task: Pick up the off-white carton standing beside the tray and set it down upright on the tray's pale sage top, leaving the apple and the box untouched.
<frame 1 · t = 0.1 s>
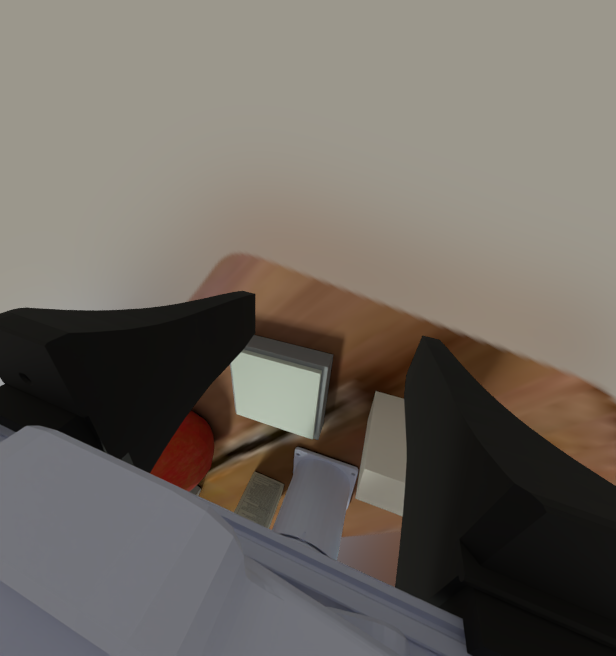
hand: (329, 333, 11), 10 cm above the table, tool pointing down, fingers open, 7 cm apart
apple: (195, 424, 38), on the table
box: (269, 482, 40), on the table
tray: (282, 380, 28), on the table
carton: (397, 413, 25), on the table
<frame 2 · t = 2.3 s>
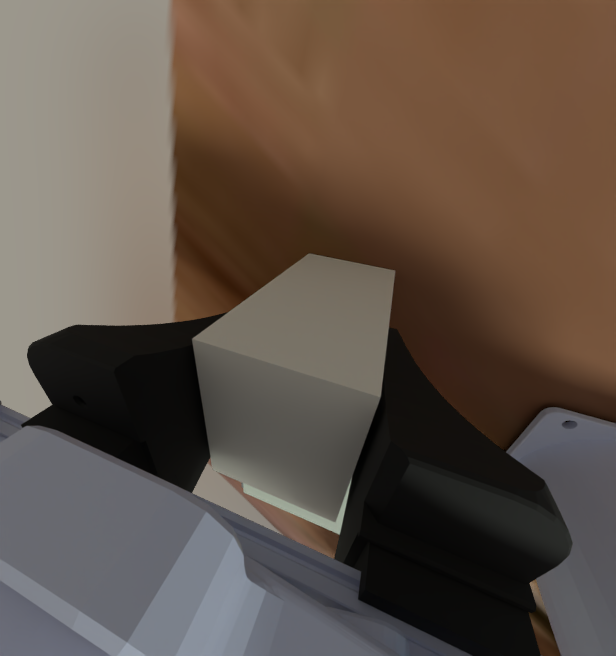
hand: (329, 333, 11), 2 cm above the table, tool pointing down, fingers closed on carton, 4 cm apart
tray: (313, 451, 19), on the table
carton: (341, 310, 13), on the table, touching gripper
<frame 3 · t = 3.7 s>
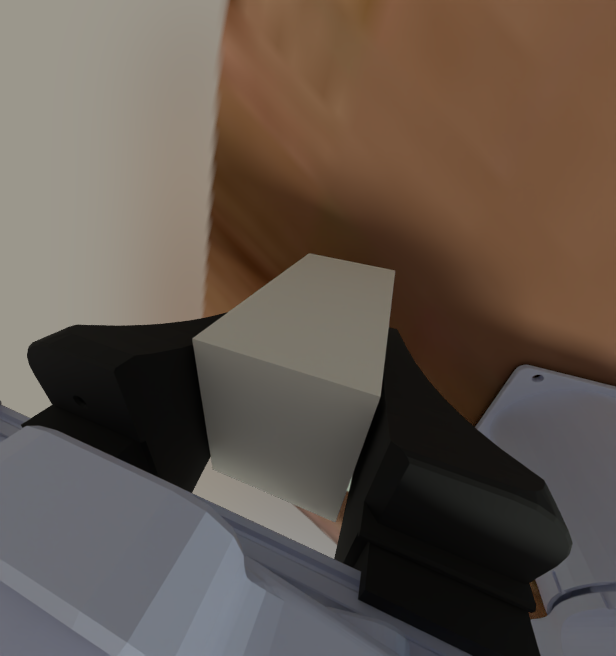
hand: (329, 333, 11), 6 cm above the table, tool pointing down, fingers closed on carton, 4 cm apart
carton: (341, 310, 13), point 3 cm above the table, touching gripper
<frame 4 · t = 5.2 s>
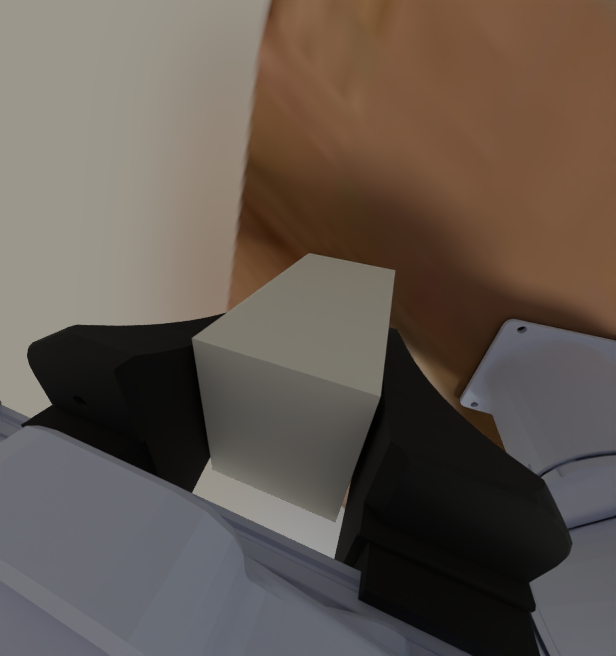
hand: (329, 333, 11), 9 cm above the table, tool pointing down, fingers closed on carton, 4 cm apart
carton: (340, 309, 13), point 7 cm above the table, touching gripper
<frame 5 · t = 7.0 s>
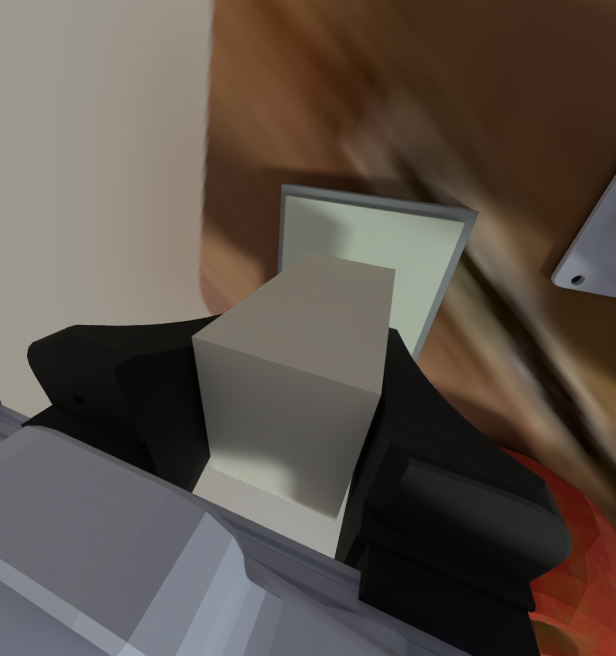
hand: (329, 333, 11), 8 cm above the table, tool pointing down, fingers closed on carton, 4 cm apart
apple: (486, 467, 22), on the table
tray: (357, 277, 17), on the table
carton: (341, 309, 13), point 5 cm above the table, touching gripper
when the fingers open (6 cm above the table, at t = 8.3 s): carton stays where it is, resting on tray.
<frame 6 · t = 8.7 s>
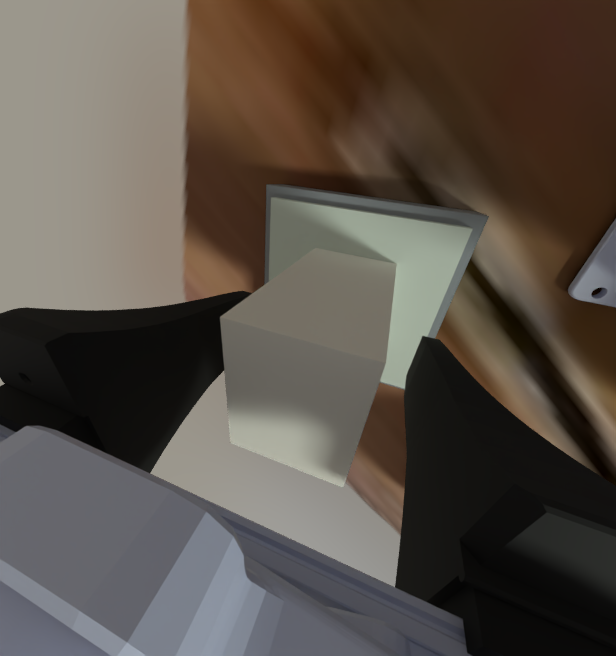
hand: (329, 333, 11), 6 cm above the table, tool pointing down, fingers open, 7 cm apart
tray: (352, 287, 16), on the table
carton: (345, 301, 14), point 2 cm above the table, touching tray
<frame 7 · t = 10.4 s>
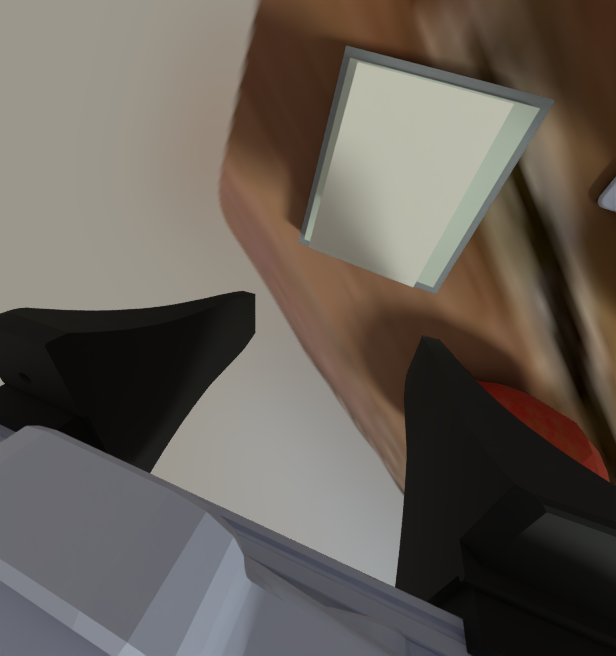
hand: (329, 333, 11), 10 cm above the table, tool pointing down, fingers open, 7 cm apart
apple: (478, 411, 23), on the table
tray: (398, 187, 16), on the table
carton: (397, 186, 14), point 2 cm above the table, touching tray
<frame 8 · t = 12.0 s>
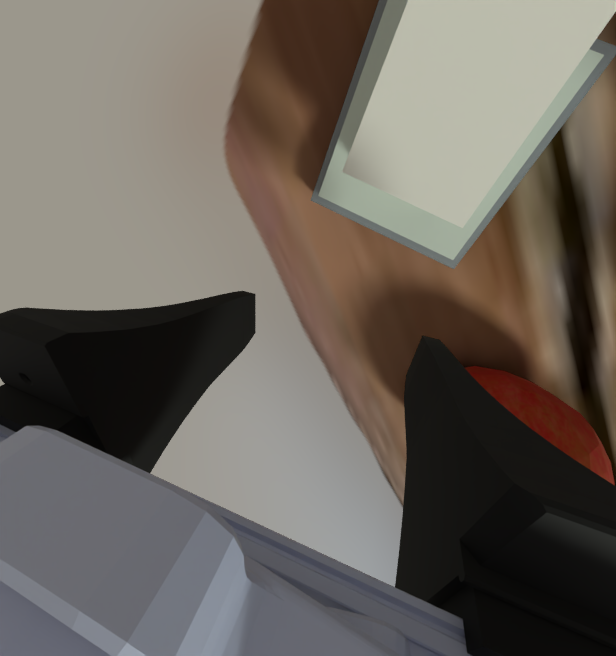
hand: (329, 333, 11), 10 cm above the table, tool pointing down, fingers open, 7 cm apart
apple: (476, 400, 22), on the table
tray: (426, 146, 15), on the table
carton: (430, 139, 13), point 2 cm above the table, touching tray
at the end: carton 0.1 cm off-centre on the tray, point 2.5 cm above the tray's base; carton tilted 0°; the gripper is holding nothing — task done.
